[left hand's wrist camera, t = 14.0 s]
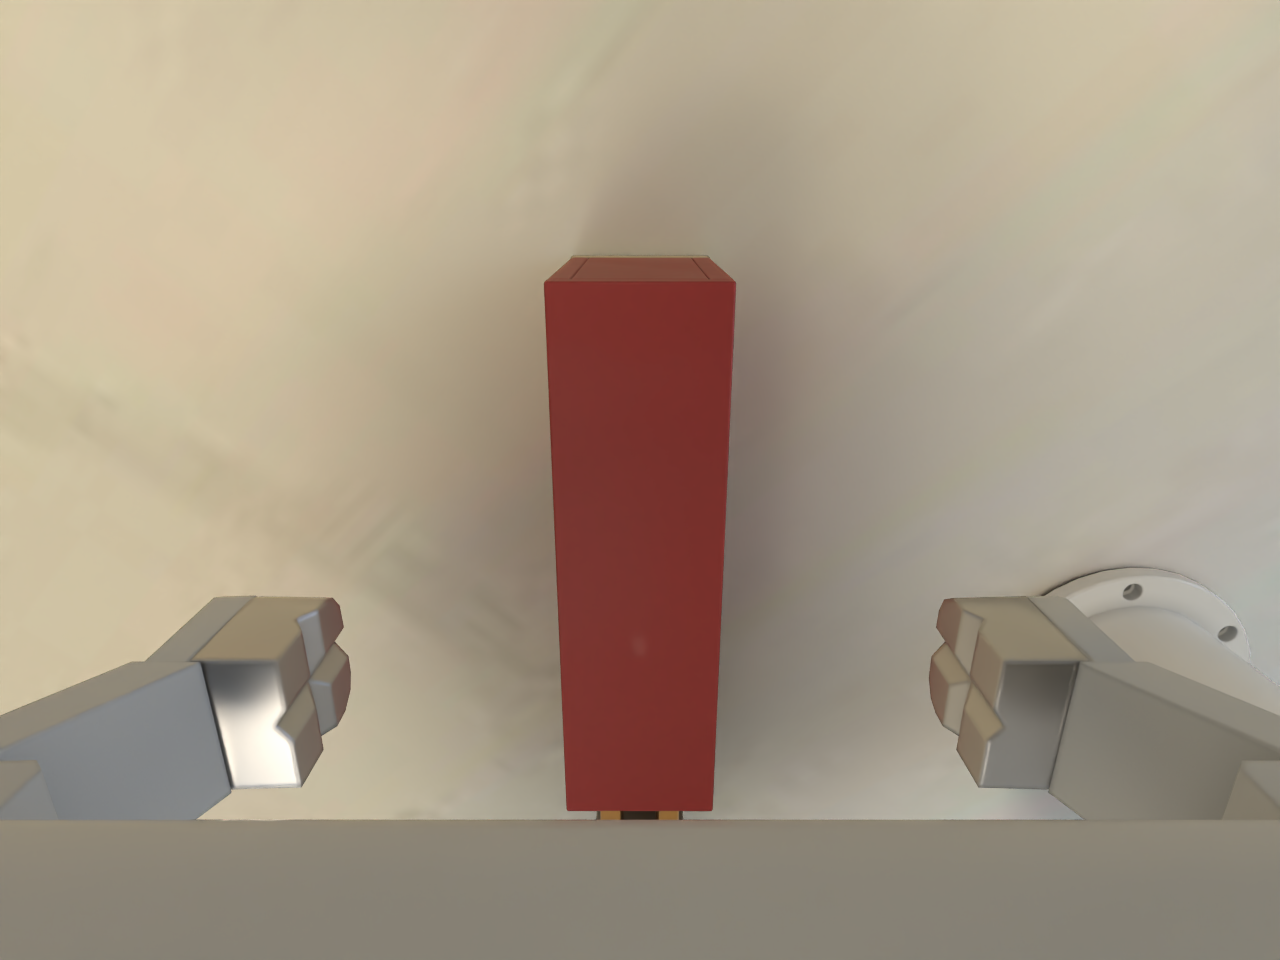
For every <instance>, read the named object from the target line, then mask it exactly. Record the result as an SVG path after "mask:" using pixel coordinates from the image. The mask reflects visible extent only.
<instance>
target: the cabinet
mask: <svg viewBox="0 0 1280 960" xmlns="http://www.w3.org/2000/svg"><path fill="white" fill-rule="evenodd" d="M544 296H545V319H546V342H547V366H548V389H549V412H550V435H551V458H552V481H553V504H554V527H555V551H556V574H557V597H558V620H559V643H560V666H561V689H562V712H563V736H564V759H565V782H566V805H567V811H712V809H713V788H714V766H715V744H716V721H717V699H718V677H719V655H720V632H721V610H722V588H723V566H724V543H725V521H726V499H727V477H728V454H729V432H730V410H731V387H732V365H733V343H734V321H735V298H736V282H735V281H734V280H733V279H732V278H731V277H730V276H729V275H728V274H726V273H725V272H724V271H723V270H722V269H721V268H720V267H719V266H717V265H716V264H715V263H714V262H713V261H712V260H711V259H710V257H708V256H572V257H571V259H570V260H569V261H568V262H567V263H566V264H565V265H563V266H562V267H561V268H560V269H559V270H558V271H557V272H555V273H554V274H553V275H552V276H551V277H550V278H549V279H548V280H546V281H545V282H544Z"/></svg>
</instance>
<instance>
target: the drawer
mask: <svg viewBox="0 0 1280 960" xmlns="http://www.w3.org/2000/svg"><path fill="white" fill-rule="evenodd" d="M596 820H683V813H682V811H597V818H596Z"/></svg>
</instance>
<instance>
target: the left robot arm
mask: <svg viewBox="0 0 1280 960" xmlns="http://www.w3.org/2000/svg"><path fill="white" fill-rule="evenodd" d="M343 628H344V626H343V621H342V616H341V611H340V606H339V604H338V603H337V602H336V601H335V600H334V599H333V598H316V597H262V596H261V597H257V596H224V597H216V598H213V599H212V600H211V601H210V602H209V603H208V604H207V605H206V606H205V607H203V608H202V609H201V610H200V611H199V612H198V613H197V614H196V615H195V616H194V617H193V618H191V619H190V620H189V621H188V622H187V623H186V624H185V625H184V626H183V627H182V628H181V629H179V630H178V631H177V632H176V633H175V634H174V635H173V636H172V637H171V638H170V639H169V640H168V641H166V642H165V643H164V644H163V645H162V646H161V647H160V648H159V649H158V650H157V651H156V652H154V653H153V654H152V655H151V656H150V657H149V658H148V659H147V660H146V661H145V662H130V663H128V664H125V665H123V666H120V667H118V668H115V669H113V670H111V671H108V672H106V673H103V674H101V675H98V676H96V677H93V678H91V679H89V680H86V681H84V682H81V683H79V684H76V685H74V686H71V687H69V688H67V689H64V690H62V691H59V692H57V693H54V694H52V695H49V696H47V697H45V698H42V699H40V700H37V701H35V702H32V703H30V704H27V705H25V706H23V707H20V708H18V709H15V710H13V711H10V712H8V713H5V714H3V715H1V716H0V960H1280V716H1279V715H1277V714H1274V713H1272V712H1269V711H1267V710H1264V709H1262V708H1260V707H1257V706H1255V705H1252V704H1250V703H1247V702H1245V701H1243V700H1240V699H1238V698H1235V697H1233V696H1230V695H1228V694H1225V693H1223V692H1221V691H1218V690H1216V689H1213V688H1211V687H1208V686H1206V685H1204V684H1201V683H1199V682H1196V681H1194V680H1191V679H1189V678H1186V677H1184V676H1182V675H1179V674H1177V673H1174V672H1172V671H1169V670H1167V669H1165V668H1162V667H1160V666H1157V665H1155V664H1152V663H1150V662H1135V661H1134V660H1133V659H1132V658H1131V657H1130V656H1129V655H1128V654H1127V653H1126V652H1125V651H1123V650H1122V649H1121V648H1120V647H1119V646H1118V645H1117V644H1116V643H1115V642H1114V641H1113V640H1111V639H1110V638H1109V637H1108V636H1107V635H1106V634H1105V633H1104V632H1103V631H1102V630H1101V629H1100V628H1098V627H1097V626H1096V625H1095V624H1094V623H1093V622H1092V621H1091V620H1090V619H1089V618H1088V617H1087V616H1085V615H1084V614H1083V613H1082V612H1081V611H1080V610H1079V609H1078V608H1077V607H1076V606H1075V605H1074V604H1072V603H1071V602H1070V601H1069V600H1068V599H1067V598H1064V597H1060V596H1034V597H1026V596H1021V597H980V598H951V599H945V600H944V601H943V603H942V605H941V608H940V610H939V614H938V620H937V626H936V628H937V629H938V631H939V632H940V634H941V635H942V637H943V639H944V640H945V643H944V644H943V645H942V646H941V647H940V648H939V649H938V650H937V651H936V652H935V653H934V654H933V655H932V657H931V665H930V673H929V683H930V694H931V700H932V703H933V706H934V709H935V713H936V714H937V716H938V718H939V720H940V722H941V724H942V725H943V726H944V727H945V728H947V729H948V730H950V731H952V732H953V733H955V734H956V735H958V736H959V738H958V744H957V751H958V753H959V755H960V757H961V758H962V760H963V762H964V763H965V765H966V767H967V769H968V770H969V772H970V774H971V775H972V777H973V779H974V780H975V782H976V784H977V786H978V787H981V788H1018V789H1049V791H1048V793H1050V794H1051V795H1052V796H1054V797H1055V798H1056V799H1058V800H1059V801H1060V802H1062V803H1063V804H1064V805H1066V806H1067V807H1068V808H1070V809H1071V810H1072V811H1074V812H1075V813H1076V814H1078V815H1079V816H1080V817H1082V818H1083V819H1084V820H196V819H197V818H198V817H200V816H201V815H202V814H204V813H205V812H206V811H208V810H209V809H210V808H212V807H213V806H214V805H216V804H217V803H218V802H220V801H221V800H222V799H224V798H225V797H226V796H228V795H229V794H230V793H231V789H261V788H296V787H302V786H303V784H304V782H305V781H306V779H307V777H308V775H309V774H310V772H311V770H312V769H313V767H314V765H315V763H316V762H317V760H318V758H319V757H320V755H321V753H322V751H323V744H322V738H321V736H322V735H324V734H325V733H327V732H328V731H330V730H332V729H333V728H335V727H336V726H337V725H338V724H339V722H340V720H341V718H342V716H343V714H344V712H345V710H346V706H347V702H348V698H349V694H350V685H351V671H350V664H349V657H348V655H347V654H346V653H345V652H344V651H343V650H342V649H341V648H340V647H339V646H338V645H337V644H336V643H335V640H336V639H337V637H338V635H339V634H340V632H341V631H342V629H343Z"/></svg>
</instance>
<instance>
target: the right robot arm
mask: <svg viewBox="0 0 1280 960" xmlns="http://www.w3.org/2000/svg"><path fill="white" fill-rule="evenodd" d="M1045 596H1060V597H1064V598H1067V599H1068V600H1069V601H1070V602H1071V603H1072V604H1074V605H1075V606H1076V607H1077V608H1078V609H1079V610H1080V611H1081V612H1082V613H1083V614H1084V615H1085V616H1087V617H1088V618H1089V619H1090V620H1091V621H1092V622H1093V623H1094V624H1095V625H1096V626H1097V627H1098V628H1100V629H1101V630H1102V631H1103V632H1104V633H1105V634H1106V635H1107V636H1108V637H1109V638H1110V639H1111V640H1113V641H1114V642H1115V643H1116V644H1117V645H1118V646H1119V647H1120V648H1121V649H1122V650H1123V651H1125V652H1126V653H1127V654H1128V655H1129V656H1130V657H1131V658H1132V659H1133V660H1134V661H1135V662H1150V663H1152V664H1155V665H1157V666H1160V667H1162V668H1165V669H1167V670H1169V671H1172V672H1174V673H1177V674H1179V675H1182V676H1184V677H1186V678H1189V679H1191V680H1194V681H1196V682H1199V683H1201V684H1204V685H1206V686H1208V687H1211V688H1213V689H1216V690H1218V691H1221V692H1223V693H1225V694H1228V695H1230V696H1233V697H1235V698H1238V699H1240V700H1243V701H1245V702H1247V703H1250V704H1252V705H1255V706H1257V707H1260V708H1262V709H1264V710H1267V711H1269V712H1272V713H1274V714H1277V715H1279V716H1280V687H1279V686H1278V685H1277V684H1276V683H1274V682H1273V681H1272V680H1270V679H1269V678H1268V677H1266V676H1265V675H1264V674H1262V673H1261V672H1260V671H1259V670H1257V669H1256V668H1255V667H1253V666H1252V665H1251V664H1250V646H1249V642H1248V639H1247V635H1246V632H1245V628H1244V627H1243V625H1242V623H1241V622H1240V620H1239V618H1238V617H1237V615H1236V613H1235V612H1234V611H1233V610H1232V609H1231V608H1230V607H1229V606H1228V605H1227V604H1226V603H1225V602H1224V601H1223V600H1222V599H1221V598H1220V597H1219V596H1217V595H1216V594H1214V593H1213V592H1211V591H1210V590H1208V589H1207V588H1205V587H1204V586H1203V585H1201V584H1200V583H1198V582H1196V581H1194V580H1191V579H1189V578H1187V577H1185V576H1182V575H1180V574H1178V573H1173V572H1169V571H1164V570H1160V569H1155V568H1122V569H1115V570H1107V571H1102V572H1098V573H1095V574H1092V575H1088V576H1085V577H1081V578H1078V579H1076V580H1074V581H1072V582H1069V583H1067V584H1065V585H1063V586H1061V587H1059V588H1057V589H1054V590H1053V591H1051V592H1050V593H1048V594H1047V595H1045Z"/></svg>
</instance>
